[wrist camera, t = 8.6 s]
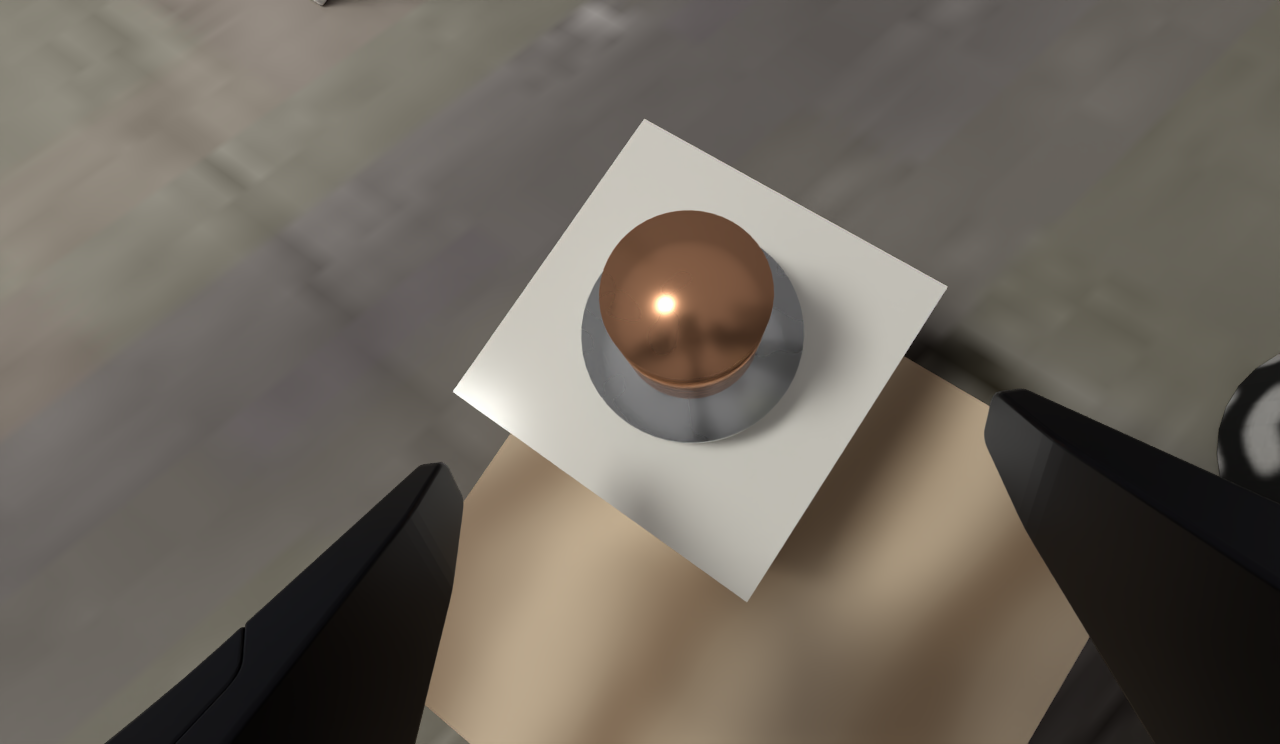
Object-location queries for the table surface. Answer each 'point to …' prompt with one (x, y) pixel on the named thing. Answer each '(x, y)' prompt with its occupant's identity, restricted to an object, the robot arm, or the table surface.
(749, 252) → the plunger
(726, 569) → the white square block
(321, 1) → the milk
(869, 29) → the table surface
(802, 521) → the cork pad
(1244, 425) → the white-spotted black cylinder
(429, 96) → the table surface
